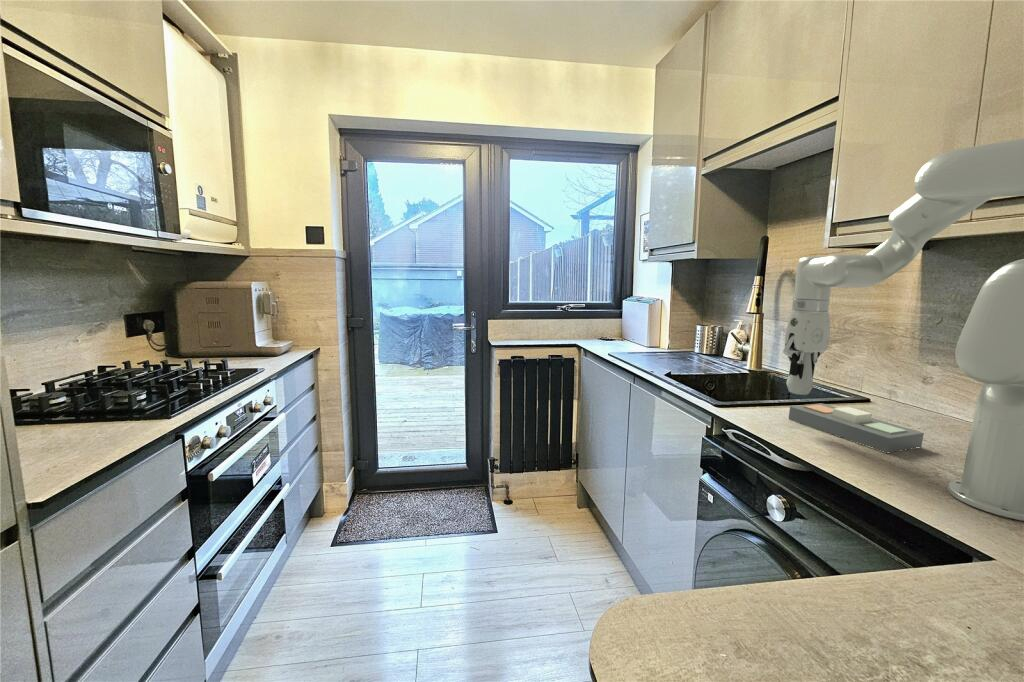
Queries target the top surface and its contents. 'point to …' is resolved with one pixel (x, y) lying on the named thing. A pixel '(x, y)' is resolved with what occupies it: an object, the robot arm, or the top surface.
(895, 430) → the key sage
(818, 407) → the key terracotta
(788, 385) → the salt shaker
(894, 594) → the top surface
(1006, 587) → the top surface
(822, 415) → the keypad
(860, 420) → the key cream
